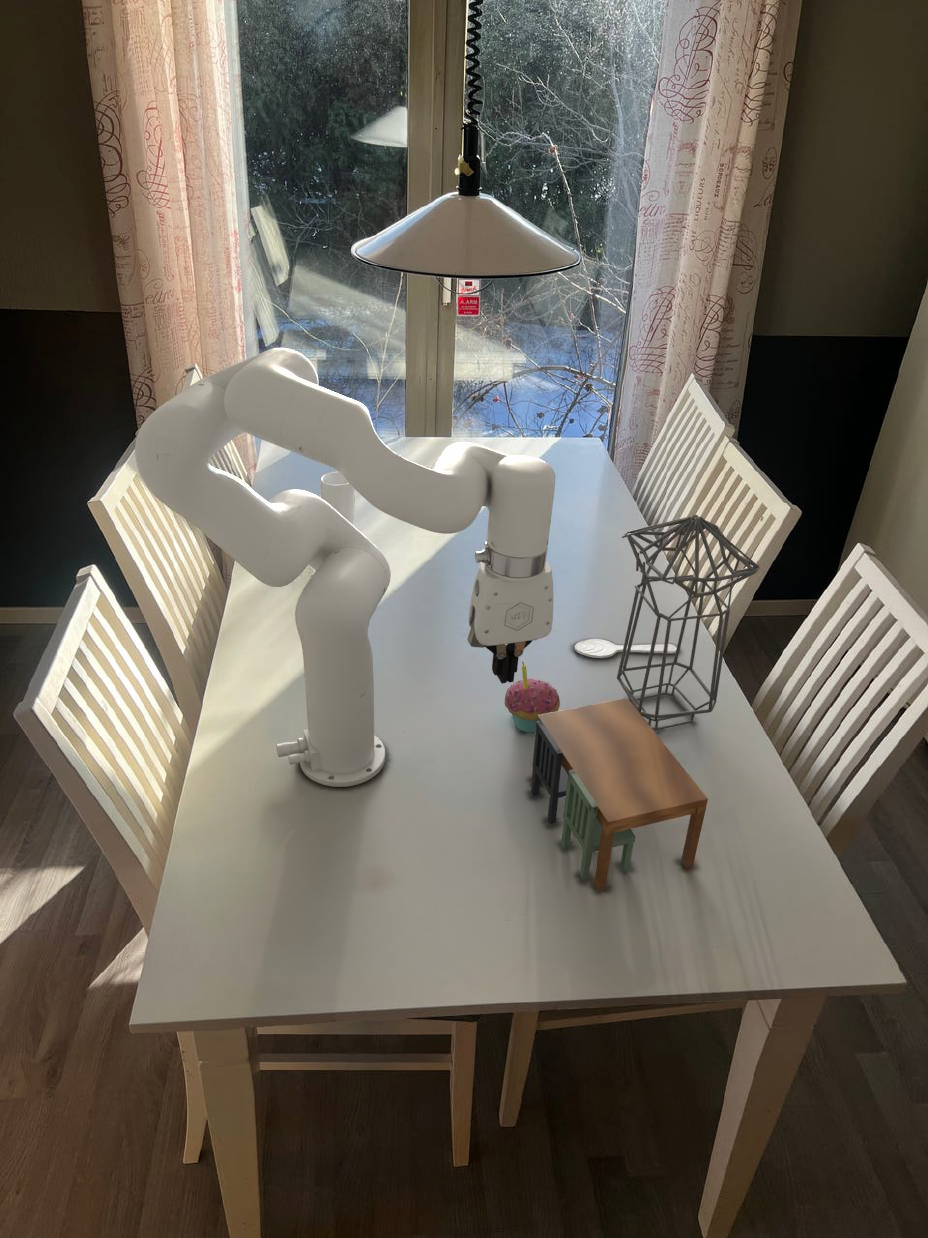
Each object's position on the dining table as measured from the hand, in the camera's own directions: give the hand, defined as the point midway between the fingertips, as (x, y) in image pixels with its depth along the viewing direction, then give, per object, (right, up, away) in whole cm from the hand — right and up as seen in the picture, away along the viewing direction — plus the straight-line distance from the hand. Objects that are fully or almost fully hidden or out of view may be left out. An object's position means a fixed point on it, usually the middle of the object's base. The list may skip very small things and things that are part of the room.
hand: (503, 676), depth 132 cm
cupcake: (+5, -9, +24) cm, 26 cm away
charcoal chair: (+9, -19, +8) cm, 22 cm away
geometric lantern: (+26, -8, +27) cm, 38 cm away
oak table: (+15, -20, +6) cm, 26 cm away
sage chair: (+12, -24, 0) cm, 27 cm away
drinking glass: (-31, +22, +71) cm, 80 cm away
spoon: (+23, +2, +42) cm, 48 cm away
